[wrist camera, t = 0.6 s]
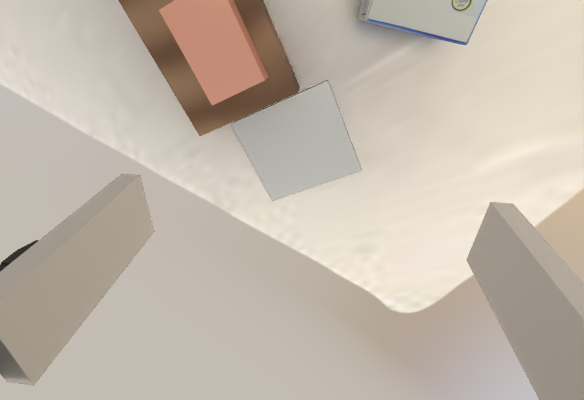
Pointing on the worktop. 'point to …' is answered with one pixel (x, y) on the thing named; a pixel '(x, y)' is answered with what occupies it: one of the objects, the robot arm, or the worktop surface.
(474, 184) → the worktop surface
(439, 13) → the medicine box
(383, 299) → the worktop surface
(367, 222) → the worktop surface
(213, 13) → the card
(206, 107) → the deck
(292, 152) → the mat
